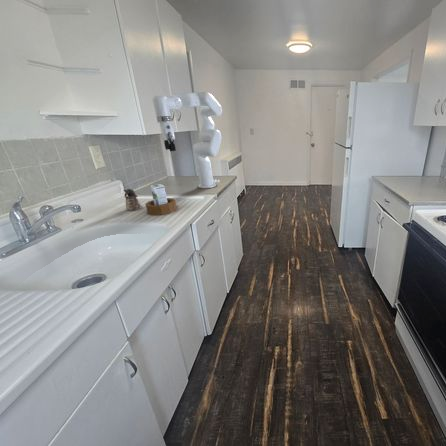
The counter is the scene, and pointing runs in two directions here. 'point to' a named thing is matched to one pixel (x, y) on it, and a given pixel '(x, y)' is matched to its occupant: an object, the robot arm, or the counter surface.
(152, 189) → the syrup box
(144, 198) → the counter surface
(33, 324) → the counter surface
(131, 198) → the figurine
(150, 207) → the brown bowl
